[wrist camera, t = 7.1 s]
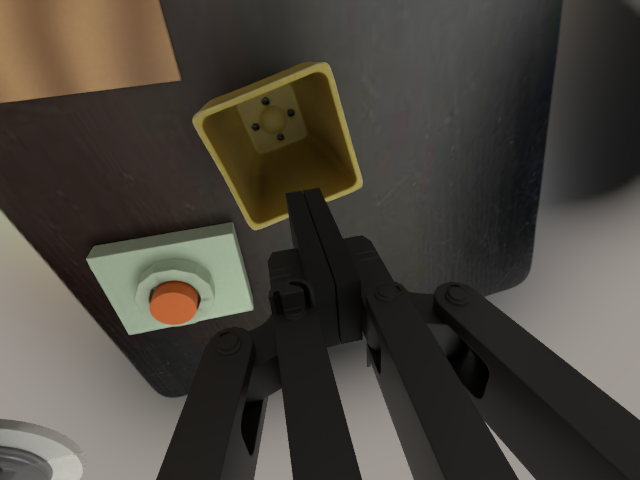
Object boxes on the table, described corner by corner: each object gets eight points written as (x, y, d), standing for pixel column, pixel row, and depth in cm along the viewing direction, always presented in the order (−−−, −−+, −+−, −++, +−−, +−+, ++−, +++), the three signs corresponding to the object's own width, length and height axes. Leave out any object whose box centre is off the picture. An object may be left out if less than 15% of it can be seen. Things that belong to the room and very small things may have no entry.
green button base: (134, 320, 39) (124, 349, 35) (93, 245, 33) (77, 271, 30) (252, 296, 40) (254, 322, 37) (233, 221, 35) (232, 243, 31)
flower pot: (336, 148, 33) (365, 188, 25) (248, 183, 33) (252, 233, 25) (304, 45, 28) (329, 58, 20) (200, 87, 28) (188, 116, 20)
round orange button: (161, 315, 35) (158, 329, 33) (146, 285, 32) (142, 297, 31) (203, 307, 35) (201, 320, 34) (191, 276, 33) (189, 288, 31)
